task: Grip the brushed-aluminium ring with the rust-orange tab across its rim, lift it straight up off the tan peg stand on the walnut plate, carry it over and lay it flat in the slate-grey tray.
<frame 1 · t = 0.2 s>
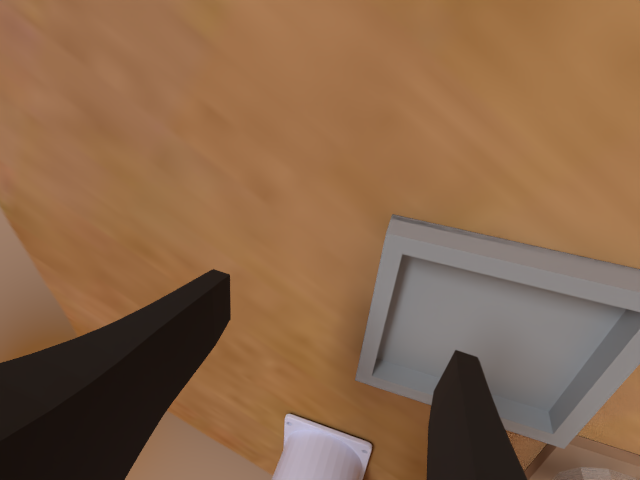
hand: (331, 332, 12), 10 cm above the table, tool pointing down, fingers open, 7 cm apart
tray: (482, 325, 22), on the table
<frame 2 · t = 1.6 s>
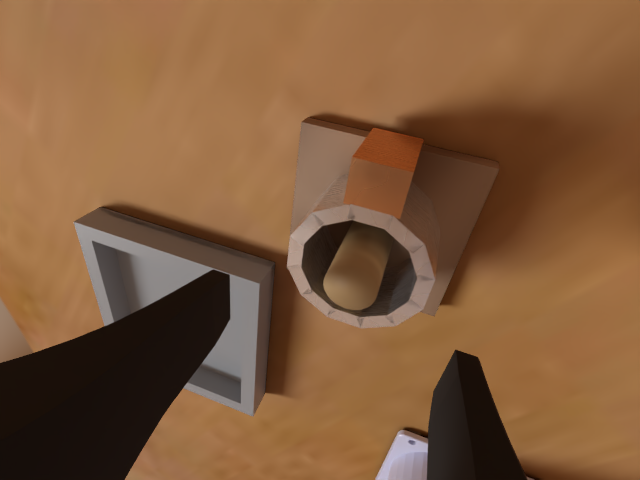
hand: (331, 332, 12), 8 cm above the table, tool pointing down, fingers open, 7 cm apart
tray: (190, 309, 26), on the table
tan peg stand: (377, 219, 18), on the table
ring: (374, 227, 17), point 1 cm above the table, touching tan peg stand
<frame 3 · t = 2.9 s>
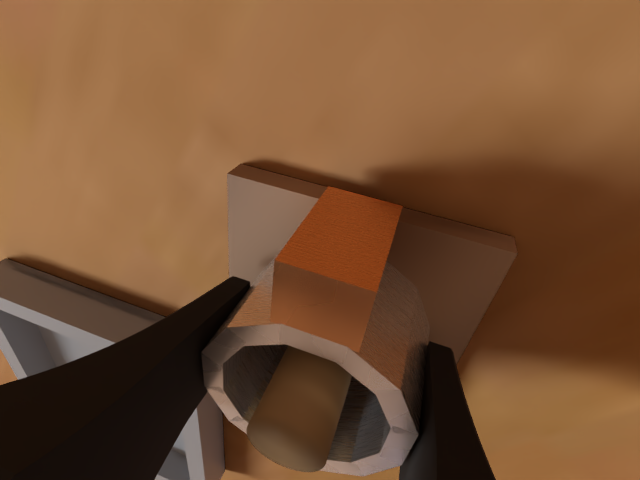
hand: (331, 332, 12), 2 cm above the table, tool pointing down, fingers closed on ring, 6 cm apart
tray: (128, 377, 21), on the table
tan peg stand: (344, 298, 13), on the table
ring: (338, 314, 12), point 1 cm above the table, touching gripper, tan peg stand
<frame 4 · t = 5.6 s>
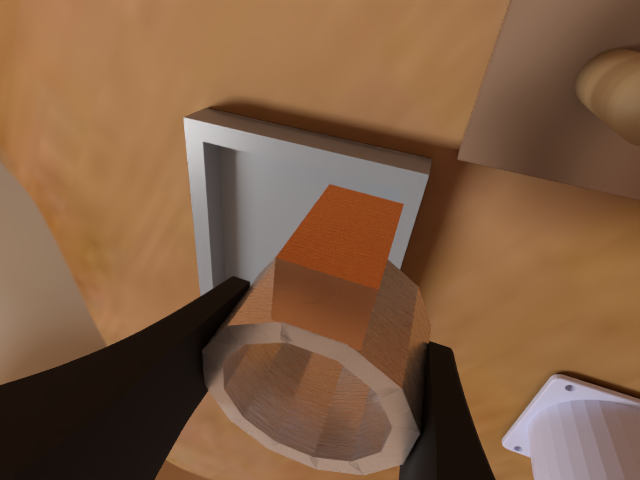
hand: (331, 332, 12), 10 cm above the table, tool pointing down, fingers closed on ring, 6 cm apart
tray: (301, 237, 22), on the table
tan peg stand: (601, 76, 14), on the table
ring: (338, 313, 12), point 9 cm above the table, touching gripper
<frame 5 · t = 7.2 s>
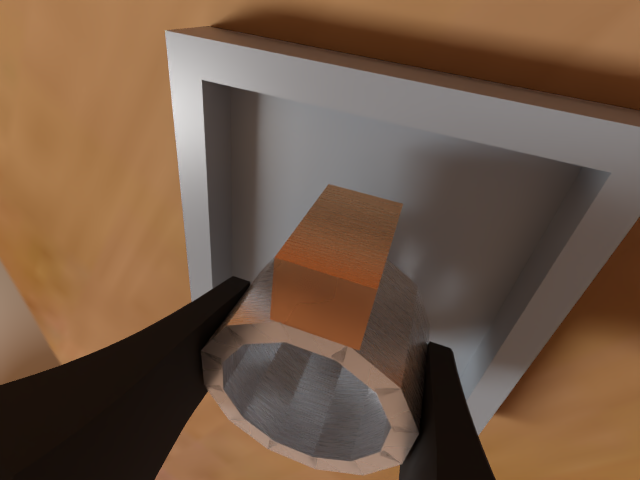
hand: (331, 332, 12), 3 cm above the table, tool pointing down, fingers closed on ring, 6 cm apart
tray: (360, 255, 14), on the table
ring: (338, 313, 12), point 2 cm above the table, touching gripper
when the fingers open (3 cm above the table, at t = 8.3 s): ring drops 1 cm, resting on tray.
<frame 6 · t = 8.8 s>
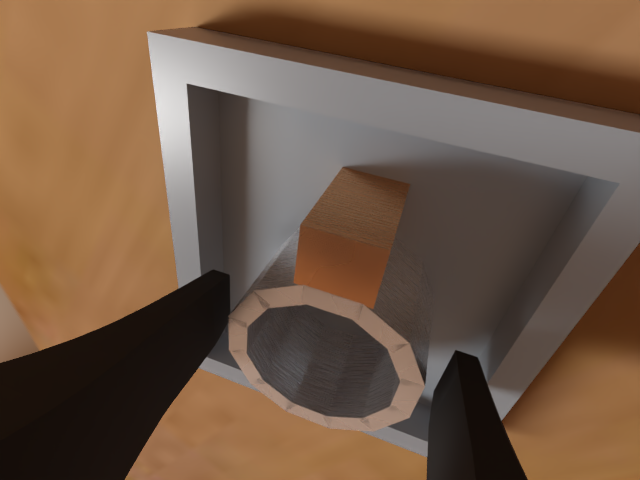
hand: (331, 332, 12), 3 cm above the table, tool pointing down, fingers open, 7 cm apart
tray: (355, 264, 13), on the table
ring: (349, 289, 13), resting on tray
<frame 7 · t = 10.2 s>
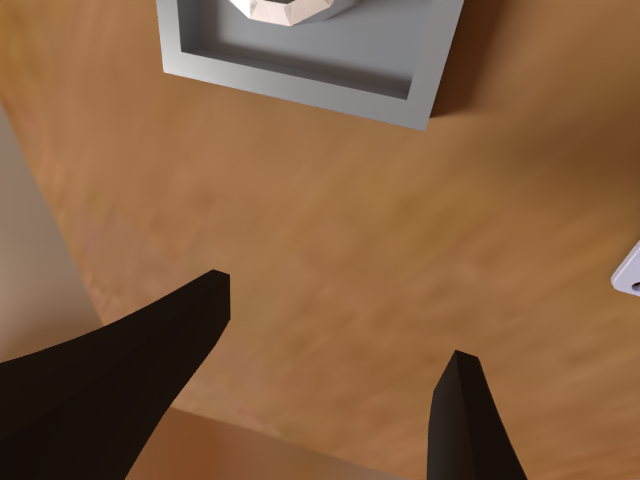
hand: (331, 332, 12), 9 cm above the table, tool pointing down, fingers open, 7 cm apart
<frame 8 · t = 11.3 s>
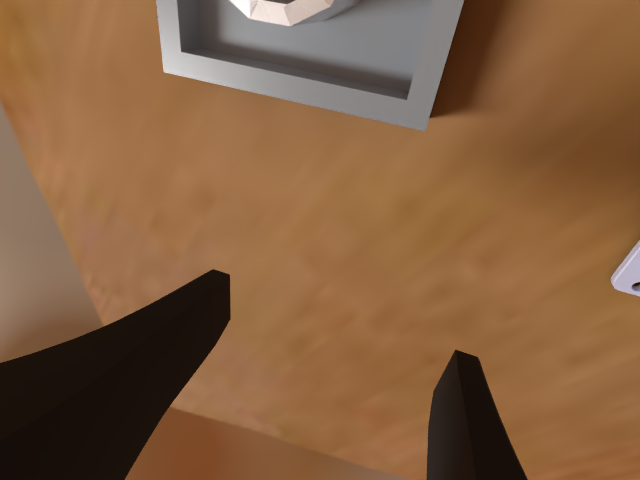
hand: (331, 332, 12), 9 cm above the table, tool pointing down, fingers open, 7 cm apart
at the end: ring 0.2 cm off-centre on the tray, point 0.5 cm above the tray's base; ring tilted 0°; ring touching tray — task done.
